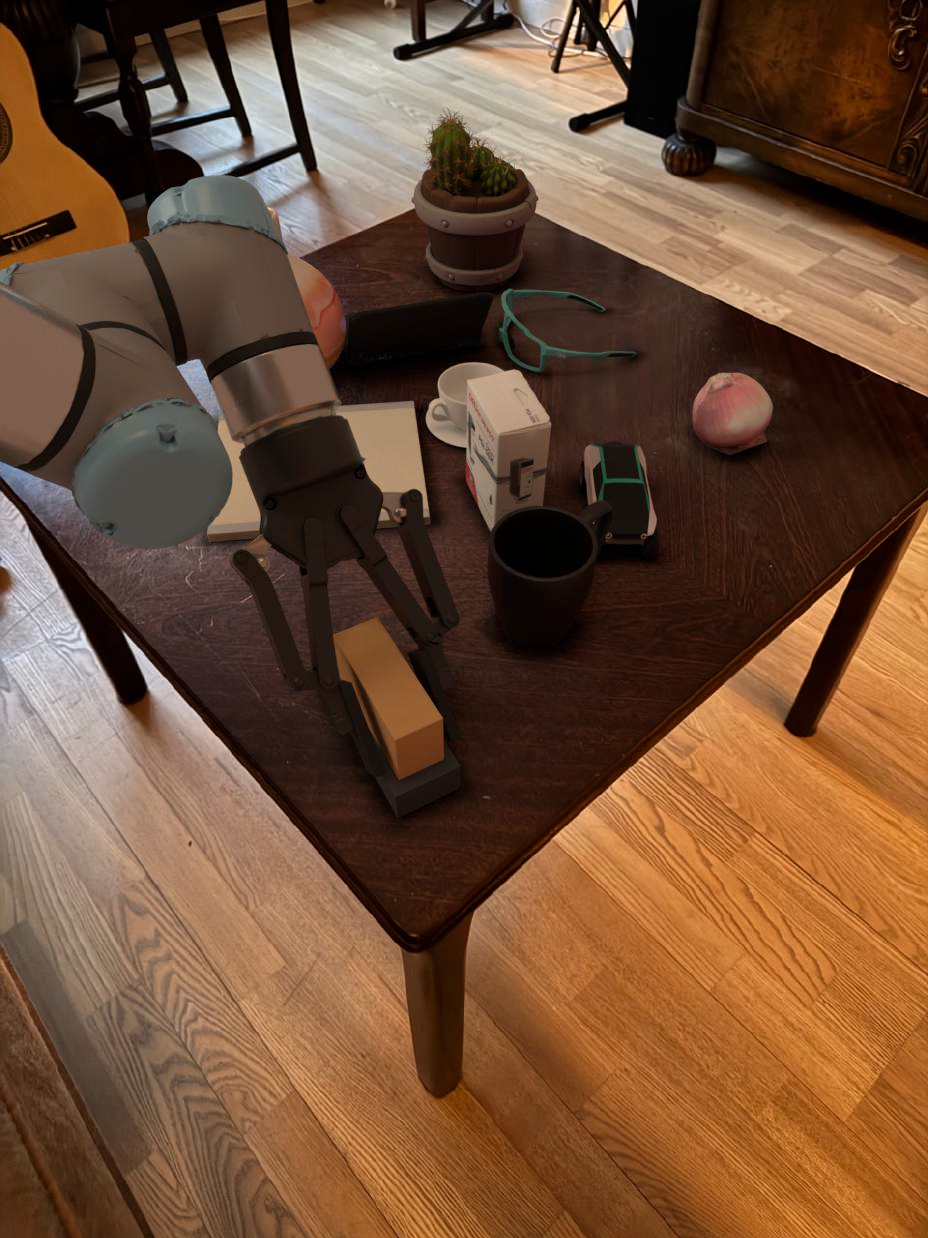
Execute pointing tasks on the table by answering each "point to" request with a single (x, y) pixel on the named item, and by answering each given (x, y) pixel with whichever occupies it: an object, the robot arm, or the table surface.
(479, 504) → the ink box
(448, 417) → the teacup
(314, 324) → the vase
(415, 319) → the game console
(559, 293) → the sunglasses
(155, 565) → the table surface
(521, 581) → the mug
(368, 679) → the eraser
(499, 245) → the flowerpot
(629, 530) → the toy car
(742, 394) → the onion
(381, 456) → the board
